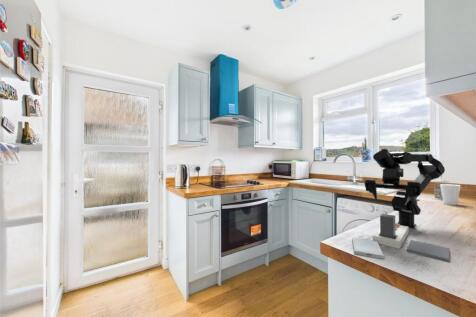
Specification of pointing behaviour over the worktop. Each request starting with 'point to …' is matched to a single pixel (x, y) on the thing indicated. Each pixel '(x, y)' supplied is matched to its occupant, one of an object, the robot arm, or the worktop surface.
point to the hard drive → (367, 248)
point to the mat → (429, 250)
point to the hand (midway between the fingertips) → (389, 203)
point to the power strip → (400, 237)
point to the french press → (439, 189)
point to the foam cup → (450, 193)
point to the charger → (387, 226)
